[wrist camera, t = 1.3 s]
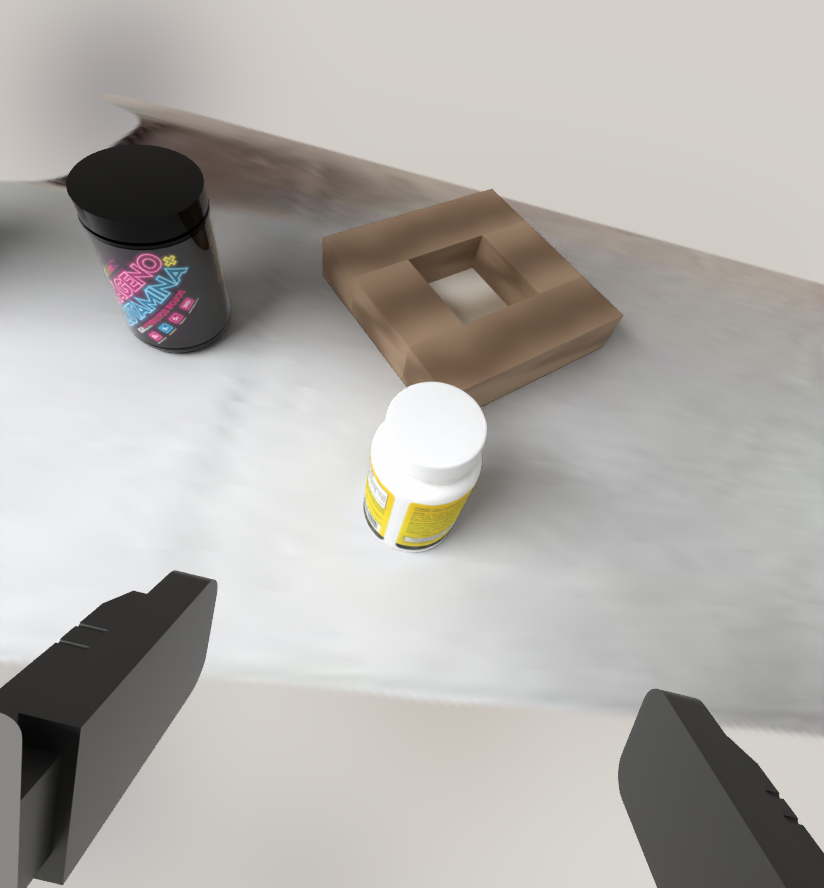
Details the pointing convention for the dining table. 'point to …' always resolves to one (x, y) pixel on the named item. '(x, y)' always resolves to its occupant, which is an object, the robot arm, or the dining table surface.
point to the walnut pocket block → (467, 296)
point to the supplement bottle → (423, 465)
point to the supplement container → (154, 243)
